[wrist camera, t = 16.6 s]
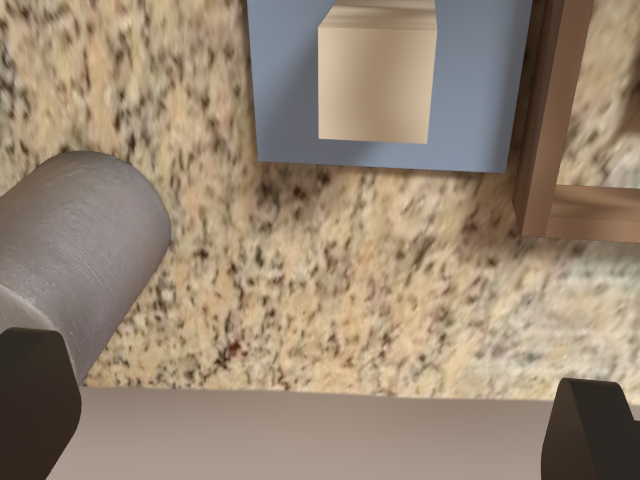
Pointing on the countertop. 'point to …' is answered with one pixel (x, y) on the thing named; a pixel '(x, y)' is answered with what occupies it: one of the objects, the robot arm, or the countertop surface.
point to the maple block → (376, 70)
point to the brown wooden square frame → (549, 138)
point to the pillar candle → (78, 249)
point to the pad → (446, 99)
